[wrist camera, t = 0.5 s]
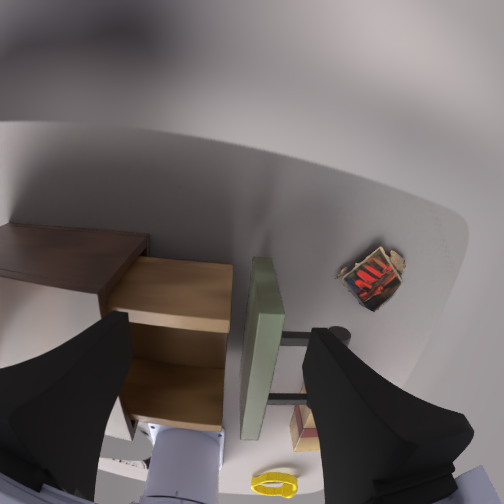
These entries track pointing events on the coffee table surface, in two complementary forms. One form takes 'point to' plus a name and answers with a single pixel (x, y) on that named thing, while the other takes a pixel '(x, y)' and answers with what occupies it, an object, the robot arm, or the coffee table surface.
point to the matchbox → (374, 278)
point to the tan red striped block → (303, 429)
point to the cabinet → (61, 291)
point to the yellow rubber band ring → (286, 490)
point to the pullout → (201, 343)
